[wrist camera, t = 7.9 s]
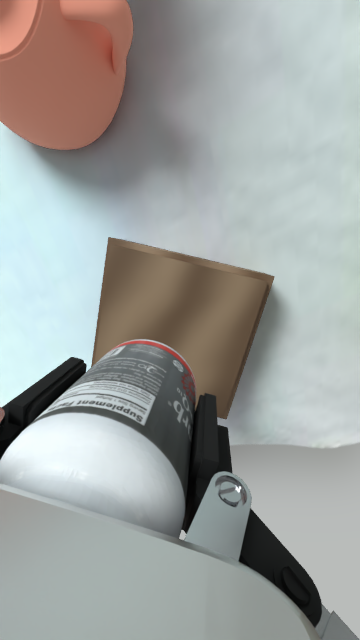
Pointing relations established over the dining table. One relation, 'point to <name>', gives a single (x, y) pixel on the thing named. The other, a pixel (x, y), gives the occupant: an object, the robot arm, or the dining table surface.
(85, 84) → the teapot
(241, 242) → the dining table surface
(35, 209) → the dining table surface
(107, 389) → the pill bottle
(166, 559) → the robot arm
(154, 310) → the walnut base
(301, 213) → the dining table surface
